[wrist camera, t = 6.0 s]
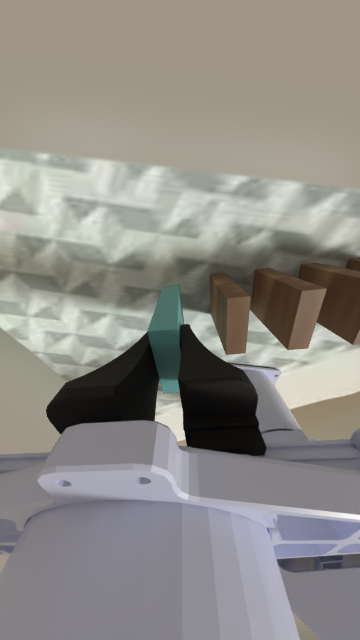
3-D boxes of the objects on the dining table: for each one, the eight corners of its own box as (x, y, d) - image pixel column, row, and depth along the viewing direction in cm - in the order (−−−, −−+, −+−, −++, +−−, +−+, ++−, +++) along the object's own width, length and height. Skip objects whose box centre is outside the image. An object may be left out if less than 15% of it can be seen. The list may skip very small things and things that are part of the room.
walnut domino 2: (269, 268, 18) (326, 288, 11) (263, 309, 20) (308, 348, 13) (254, 269, 18) (302, 290, 11) (250, 310, 20) (287, 349, 13)
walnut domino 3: (316, 263, 18) (407, 280, 10) (305, 305, 20) (374, 343, 13) (300, 264, 18) (381, 282, 11) (291, 306, 20) (352, 344, 13)
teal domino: (179, 284, 15) (177, 328, 8) (184, 328, 18) (186, 391, 11) (163, 286, 16) (147, 331, 8) (170, 330, 18) (163, 393, 11)
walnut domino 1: (223, 273, 18) (250, 295, 11) (223, 312, 20) (245, 353, 13) (209, 274, 18) (227, 298, 11) (210, 314, 21) (226, 354, 13)
